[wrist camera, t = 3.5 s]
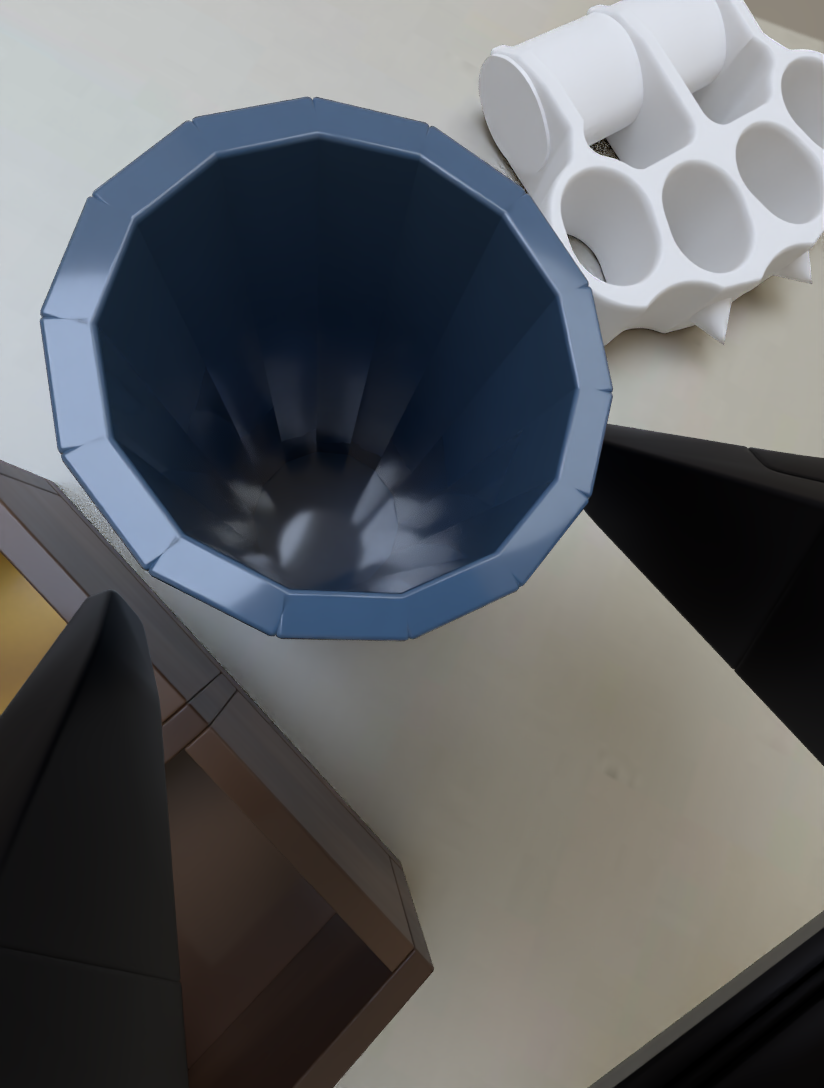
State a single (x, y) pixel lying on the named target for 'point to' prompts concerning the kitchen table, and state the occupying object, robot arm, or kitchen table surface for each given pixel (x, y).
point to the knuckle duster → (667, 153)
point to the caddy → (230, 831)
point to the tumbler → (326, 371)
